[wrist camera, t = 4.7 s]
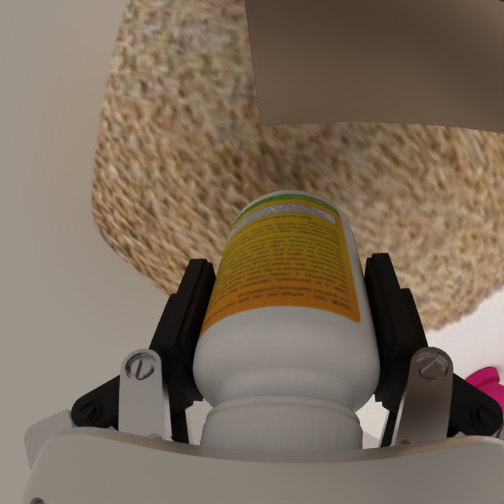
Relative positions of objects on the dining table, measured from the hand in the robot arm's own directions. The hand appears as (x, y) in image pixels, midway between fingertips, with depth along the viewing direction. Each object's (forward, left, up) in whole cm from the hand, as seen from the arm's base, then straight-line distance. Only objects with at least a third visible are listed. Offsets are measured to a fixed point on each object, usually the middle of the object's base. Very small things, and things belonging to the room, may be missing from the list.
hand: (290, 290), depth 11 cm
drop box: (-14, +7, -12) cm, 20 cm away
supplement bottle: (0, 0, -3) cm, 3 cm away
